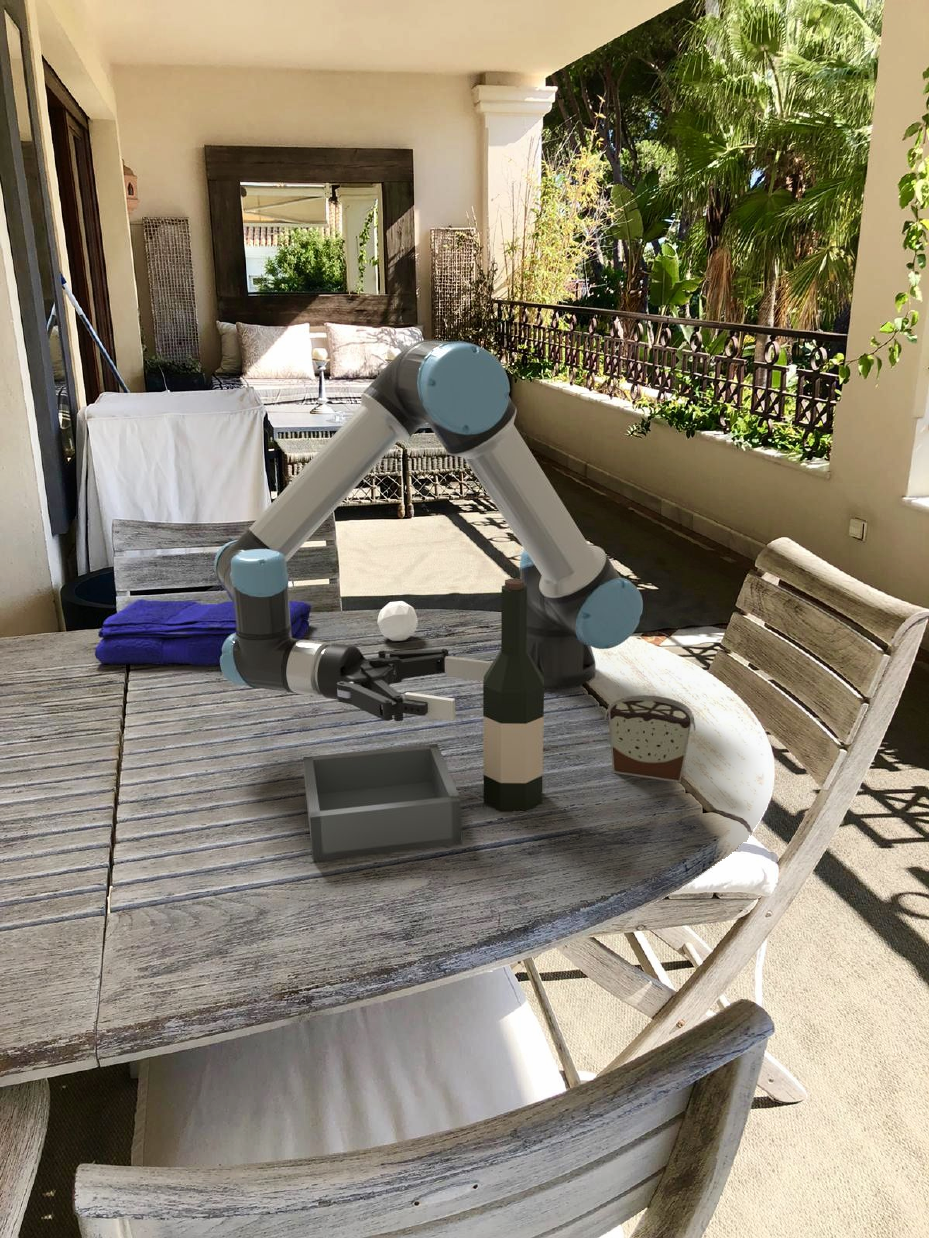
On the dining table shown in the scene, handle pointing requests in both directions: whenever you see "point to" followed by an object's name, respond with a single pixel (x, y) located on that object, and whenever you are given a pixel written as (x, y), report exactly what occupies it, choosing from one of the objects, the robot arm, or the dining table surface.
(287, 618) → the robot arm
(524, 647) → the wine bottle
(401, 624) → the ball
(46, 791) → the dining table surface
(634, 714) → the food container
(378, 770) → the tote
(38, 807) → the dining table surface
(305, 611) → the towel
